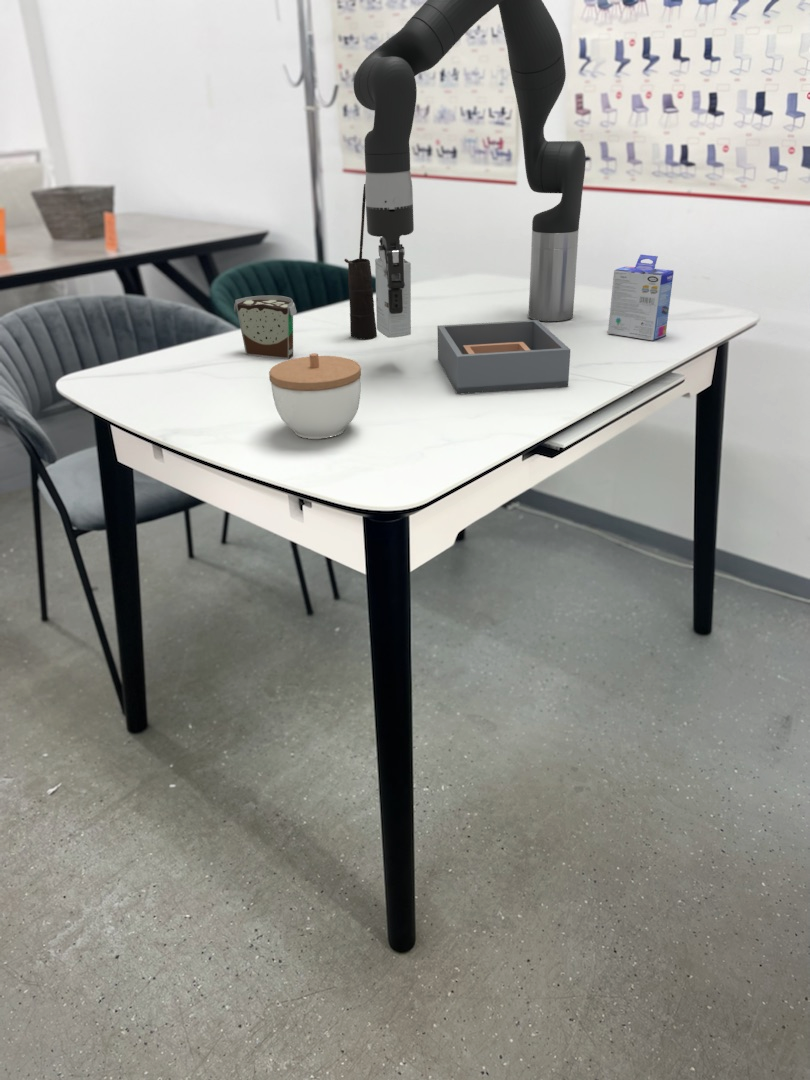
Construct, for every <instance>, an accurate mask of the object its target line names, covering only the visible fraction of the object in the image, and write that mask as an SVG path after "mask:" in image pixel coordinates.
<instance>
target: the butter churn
mask: <svg viewBox="0 0 810 1080" xmlns="http://www.w3.org/2000/svg"><path fill="white" fill-rule="evenodd" d="M362 192H363V193H362V204H361V205H362V206H361V225H360V226H361V227H360V239H359V256H358V258H355V259H352V260H349V259H348V258H344V260H343V261H344V262H345V263H346V264H347V266H348V268H347V269H348V270H347V272H348V273H347V276H348V277H347V281H348V283H347V284H348V285H347V286H348V293H349V295H348V297H349V299H348V300H349V318H350V319H349V323H350V324H349V325H350V332H349V333H350V338H354V339H356V340H373V339H375V338H376V337H377V336H378V333H377V332H378V330H377V321H376V317H375V315H376V314H375V313H376V312H375V301H374V288H373V282H372V281H373V278H372V277H373V276H372V269H371V261H370V260H369V259H368V258H363V247H364V231H365V229H364V228H365V214H366V197H365V183H364V184H363V191H362Z"/></svg>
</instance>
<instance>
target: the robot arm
mask: <svg viewBox="0 0 810 1080" xmlns="http://www.w3.org/2000/svg"><path fill="white" fill-rule="evenodd" d="M496 6H498V9H499V15H500V19H501V24H502V29H503V32H504V38H505V44H506V48H507V57H508V64H509V69H510V74H511V79H512V85H513V89H514V93H515V97H516V98H515V100H516V104H517V109H518V115H519V121H520V127H521V136H522V138H521V139H522V144H523V145H522V148H523V158H524V165H525V166H524V167H525V168H524V169H525V176H526V181H527V183H528V186H529V188H530V189H531V190H532V191H533V192H534V193H539V194H561V199H560V200H559V201H560V202H559V203H558V204H556V205H555V206H553V207H552V208H549V209H547V210H543V211H541V212H538V213H536V214H534V215H533V218H532V222H531V226H532V227H531V250H530V252H531V253H530V274H529V276H530V277H529V295H528V296H529V298H528V317H529V319H531V320H538V321H539V322H540V321H542V322H562V321H567V320H570V319H571V320H572V318H573V317H574V304H575V294H576V293H575V292H576V277H577V275H576V274H577V262H578V261H577V258H578V243H579V242H578V241H579V230H580V219H581V212H582V197H583V191H584V189H583V188H584V182H585V181H584V180H585V173H586V172H585V171H586V163H587V162H586V155H587V154H586V150H585V146H584V145H583V143H582V142H580V141H578V140H577V141H575V140H570V141H569V140H566V141H564V140H562V141H560V140H559V141H558V140H557V141H556V140H552V141H548V140H547V139H546V138H545V134H544V133H545V131H544V129H545V125H546V123H547V121H548V118H549V116H550V113H551V112H552V110H553V108H554V106H555V105H556V102H557V101H558V99H559V96H560V95H561V93H562V91H563V88H564V86H565V83H566V82H565V81H566V78H567V77H566V76H567V75H566V74H567V73H566V63H565V54H564V47H563V46H564V45H563V41H562V37H561V33H560V32H559V29H558V27H557V24H556V23H555V21H554V19H553V17H552V16H551V14H550V12H549V10H548V8H547V6H546V5H545V3H544V2H543V0H426V1H425V2H424V3H423V4H422V5H421V6H420V8H419V9H417V11H416V12H415V13H414V14H413V15H412V16H411V17H410V18H409V20H408V21H406V23H405V24H404V26H403V27H401V29H400V30H399V31H397V32H396V33H395V34H394V35H393V36H391V37H389V38H388V39H387V40H386V41H384V42H383V43H382V44H381V45H379V46H378V47H377V48H376V49H374V50H373V52H371V53H370V54H369V55H368V56H367V57H366V58H365V59H364V60H363V61H362V62H361V63H360V65H359V66H358V69H357V70H356V72H355V75H354V78H353V92H354V96H355V98H356V100H357V101H358V103H359V104H360V105H361V106H362V107H364V108H366V109H367V110H370V111H374V116H373V117H374V120H373V128H372V130H370V131H368V132H367V133H366V135H365V137H364V165H365V168H364V169H365V180H364V181H365V182H364V184H365V197H366V199H365V214H366V230H367V231H366V232H367V234H368V235H370V236H373V237H377V238H379V237H380V238H379V244H378V248H377V249H378V256H379V258H380V259H381V260H382V265H383V275H384V277H386V278H387V288H388V298H389V311H390V313H391V314H397V313H402V311H403V303H402V290H403V288H404V286H405V282H404V272H405V268H404V259H405V255H406V254H405V253H406V250H405V246H403V243H401V242H400V238H401V237H402V236H408V235H411V234H413V232H414V230H415V229H414V227H415V226H414V198H413V197H414V193H413V192H414V191H413V190H414V189H413V181H412V176H411V148H410V140H411V133H412V129H413V123H414V118H415V112H416V104H417V91H418V90H417V82H416V81H417V80H416V76H417V75H419V74H422V73H423V72H424V73H425V72H426V71H429V70H431V69H432V68H434V67H435V66H436V65H437V64H438V63H439V62H440V61H441V60H442V59H443V58H444V57H445V55H446V54H448V52H449V51H450V50H451V49H452V48H453V47H454V46H455V45H456V44H457V43H458V41H459V40H460V39H461V38H462V37H463V36H464V35H465V34H466V33H467V32H468V31H469V30H470V29H471V28H472V27H473V26H474V25H476V24H477V22H478V21H479V20H481V19H482V18H483V17H484V16H485V15H487V14H488V13H489V12H490V11H491V10H493V9H494V8H496ZM386 263H387V264H388V269H387V267H386ZM393 264H397V265H393ZM392 275H395V276H398V277H399V280H397V281H392Z"/></svg>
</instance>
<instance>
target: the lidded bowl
mask: <svg viewBox="0 0 810 1080" xmlns="http://www.w3.org/2000/svg"><path fill="white" fill-rule="evenodd" d="M268 375H269V381H270V384H271V392H272V397H273V401H274V406H275V409H276V411H277V413H278V415H279V417H280V419H281V420H282V421H283V423H284V424H285V425H286V426H287V427H288V428H289V429H291V430H292V431H293V432H294V434H295V435H296V436H297V435H298V437H299V438H301V437H302V439H306V438H308V439H307V440H319V439H318V438H326V437H330V436H335V435H338V434H340V433H342V432H343V431H344V430H345V431H346V427H348V426H349V425H350V424H351V423H352V421H353V420H354V418H355V416H356V414H357V413H358V409H359V405H360V401H361V391H362V390H361V375H362V367H361V365H360V364H359V363H358V362H357V361H356V360H354V359H351V358H347V357H342V356H336V355H335V356H334V355H319V354H318V353H316V352H315V353H314V352H313V353H309V356H302V357H297V358H290V359H286V360H284V361H282V362H279V363H277V364H275V365H273V366H272V367H271V368H270V370H269V373H268ZM345 431H344V432H345ZM344 432H343V433H344ZM343 433H342V434H343ZM340 435H341V434H340ZM338 436H339V435H338ZM335 437H336V436H335Z"/></svg>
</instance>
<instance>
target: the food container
mask: <svg viewBox="0 0 810 1080" xmlns="http://www.w3.org/2000/svg"><path fill="white" fill-rule="evenodd" d="M234 301H235V302H234V304H233V305H234V307H233V311H234V312H237V313H236V314H237V317H238V322H239V326H240V331H241V336H242V342H243V345H244V350H245V351H244V352H245V354H246V356H254V357H263V358H271V359H272V358H273V359H281V360H282V359H283V360H291V359H293V357H294V315H296V314H297V313H298V312H297V309H296V304H295V302H294V301H293V299H292V298H291V297H288V296H283V295H255V296H245V297H242V298H238V299H234Z"/></svg>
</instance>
